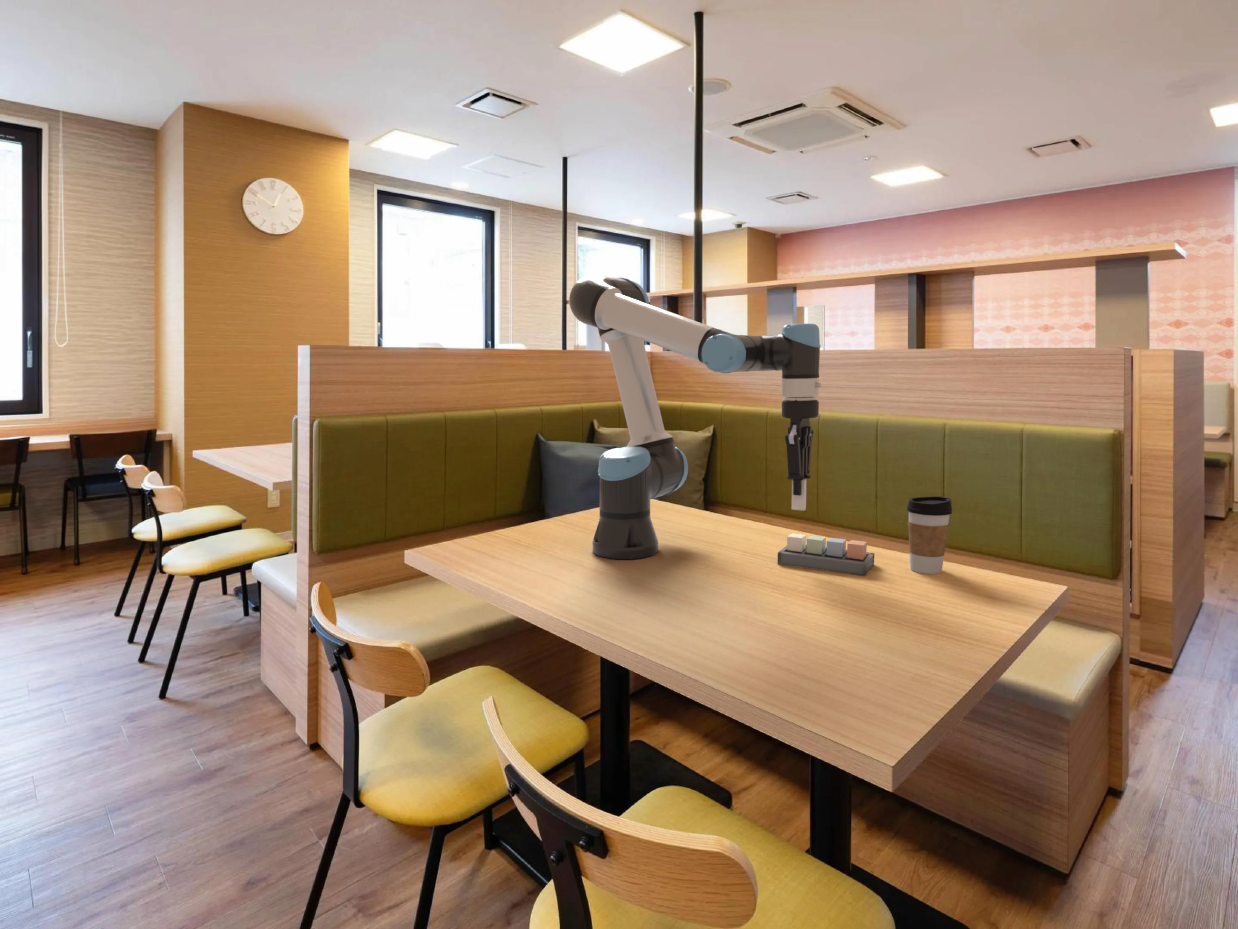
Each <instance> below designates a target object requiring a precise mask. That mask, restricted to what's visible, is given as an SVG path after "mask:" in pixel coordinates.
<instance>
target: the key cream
mask: <svg viewBox="0 0 1238 929" xmlns="http://www.w3.org/2000/svg"><path fill="white" fill-rule="evenodd" d="M806 545H807V534H800V533H793V532H792V533H790V534H788V535H787V537H786V546H787V550H791V551H799V552H802V551H803V550H804V549H806Z"/></svg>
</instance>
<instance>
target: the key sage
mask: <svg viewBox="0 0 1238 929" xmlns="http://www.w3.org/2000/svg"><path fill="white" fill-rule="evenodd" d="M826 538H827V537H826V536H818V535H809V536H808V537H806V545H807V548H806V553H814V554H823V553H824V552H825V548H826V547H827V540H826Z"/></svg>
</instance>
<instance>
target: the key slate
mask: <svg viewBox="0 0 1238 929" xmlns="http://www.w3.org/2000/svg"><path fill="white" fill-rule="evenodd" d="M826 547H827V551H826V555H830V556H838V557H843V555H844V554H845V553H846V550H847V548H846V547H847V539H845V538H838V537H837V538H836V537H829V538H828V539H827V540H826Z"/></svg>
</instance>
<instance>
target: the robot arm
mask: <svg viewBox="0 0 1238 929" xmlns="http://www.w3.org/2000/svg"><path fill="white" fill-rule="evenodd" d="M569 292H570V293H569V298H568V299H569V301H568V302H569V307H570V310H571V313H572V314H573V316H574V317H575V318H576V320H578V321H579V322H581V323H583V324H585V325H588V326H589V325H590V326H592V327H596V328H597V330H598V334H599V339H600V340H601V341H603V342H605V343H606V344H607V345H608V349H609V354H610V358H611V363H612V366H613V370H614V374H615V379H616V384H617V387H618V388H617V389H618V392H619V395H620V396H619V397H620V400H621V403H622V409H623V414H624V417H625V421H626V426H627V429H628V433H629V437H630V440H629V441H628V443H627V445H626V446H623V447H616V448H615V447H614V448H611V449H609V450H606V451H604V452H603V453H602V454H601V455H600V456H599V460H598V469H597V474H598V493H599V494H598V495H599V496H598V500H599V501H598V502H599V504H598V505H599V506H598V507H599V519H598V523H597V526H596V529H595V532H594V534H593V535H594V536H593V539H592V552H593V554H595V555H596V556H598V557H602V558H606V559H612V560H613V559H614V560H633V559H634V560H635V559H642V558H648V557H651V556H653V555H656V554H657V553H658V551H659V540H658V536H657V534H656V530H655V528H654V524H653V522H652V518H651V500H652V499H656V498H658V497H663V496H668V495H670V494H672V493H673V492H676V491H678V489H680V488H681V487H682V486H683V485H684V483H685V481H686V480H687V477H688V473H689V464H688V459H687V457H686V455H685V453H684V452H683V451H682V450H680V448H679V447H677V446H676V445H675V440H674V437H673V435H671V434H670V433H668V432H667V431H666V429H665V426H664V423H663V422H664V421H663V418H662V414H661V410H660V405H659V402H658V397H657V392H656V389H655V384H654V381H653V375H652V371H651V367H650V363H649V359H648V354H647V350H646V346H645V342H647V343H650V344H652V345H655V346H658V347H660V348H663V349H666V350H668V351H670V352H673V353H676V354H678V355H681V356H684V357H687V358H689V359H691V360H694V361H697V362H700V363H702V364H703V365H705V366H706V367H707V369H708V370H710V371H712V372H714V373H715V372H716V373H720V374H731V373H740V372H741V373H743V372H746V373H747V372H748V373H749V372H765V371H775V372H776V371H781V374H782V375H781V397H782V398H783V399H784V400H782V401H781V417H782V418H784V419H790V420H789V422H790V423H789V427H788V428H787V434H785V436H784V440H785V444H786V458H787V459H786V460H787V472H788V473H787V474H788V476H787V479H788V480H791V508H790V509H791V510H792V511H793V510H794V511H806V509H807V479H810V480H811V475H810V472H811V471H810V468H811V458H812V457H811V456H812V444H813V436H814V432H815V431H814V429H812V426H811V424H810V419H816V418H818V417H819V416H820V415H819V413H820V412H819V410H820V408H819V407H820V406H819V405H820V404H819V403H820V402H819V400H818V399H816V398H818V397H819V396H820V395H819V394H820V388H821V387H822V386H823V385H822V382H820V360H821V359H820V353H821V351H820V349H821V344H820V343H821V340H820V339H821V338H820V328H819V326H818V325H817V324H815V323H791V324H785V325H783V327H782V331H781V333H780V334H775V335H774V334H773V335H772V334H771V335H767V334H766V335H748V334H747V335H746V334H745V335H744V334H743V335H742V334H734V333H730V332H728V331H725V330H722V329H719V328H715V327H713V326H711V325H708V324H705V323H702V322H698V321H696V320H693V319H691V318H689V317H685V316H682V315H679V314H677V313H675V312H671V311H669V310H665V309H663V308H660V307H657V306H654V305H651V304H650V300H649V297H648V294H647V292H646V290H645V289H644V288H643V287H642V285H640V284H639V283H638V282H635V281H634V280H631V279H629V278H625V277H613V276H607V275H606V276H605V275H601V274H588V275H585V276H583V277H581V278H580V279H578V280H577V281H576V282H575V283H574V285H573V286H572V288H571V290H570V291H569ZM644 341H645V342H644Z"/></svg>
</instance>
